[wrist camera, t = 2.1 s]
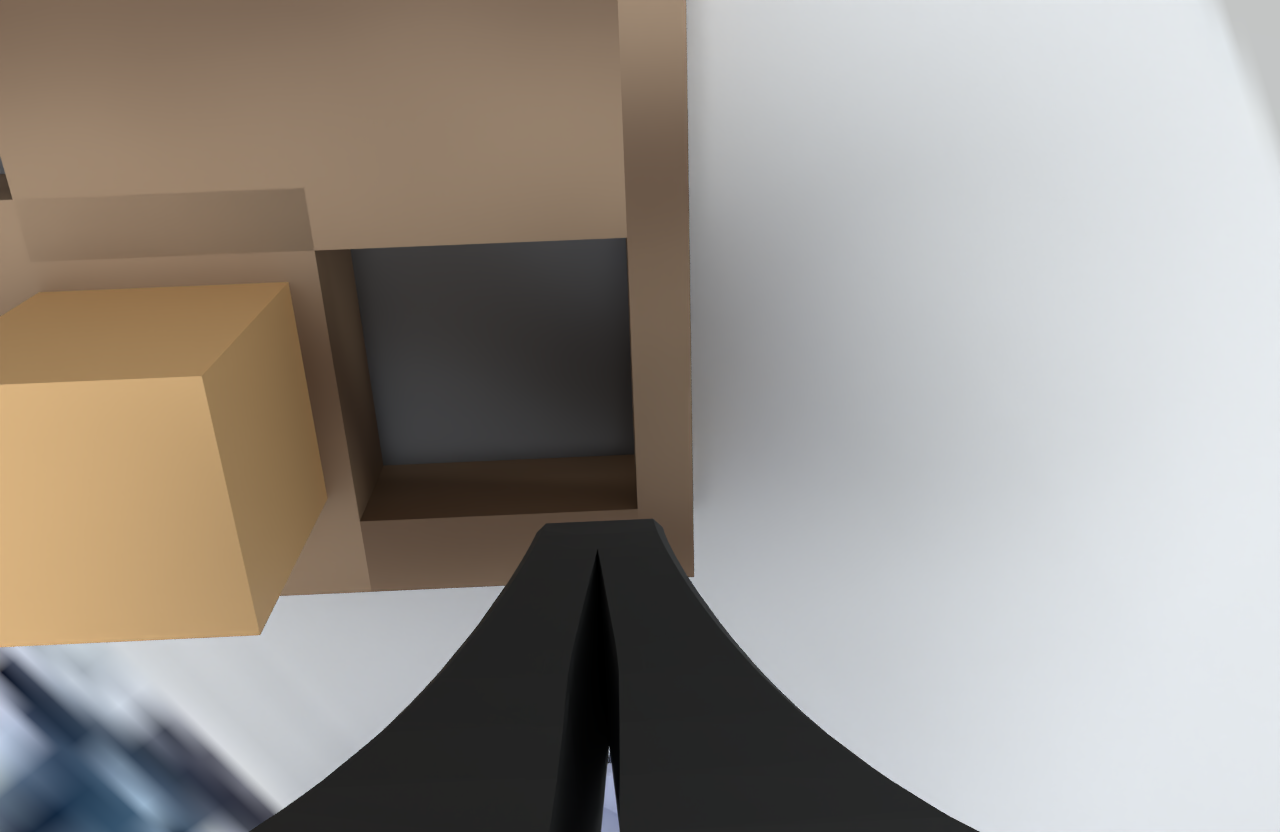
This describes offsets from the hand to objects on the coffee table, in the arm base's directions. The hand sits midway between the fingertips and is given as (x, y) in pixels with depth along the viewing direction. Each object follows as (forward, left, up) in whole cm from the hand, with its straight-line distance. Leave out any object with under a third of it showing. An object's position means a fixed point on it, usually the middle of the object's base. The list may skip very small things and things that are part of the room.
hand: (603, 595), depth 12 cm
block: (0, +7, -6) cm, 9 cm away
